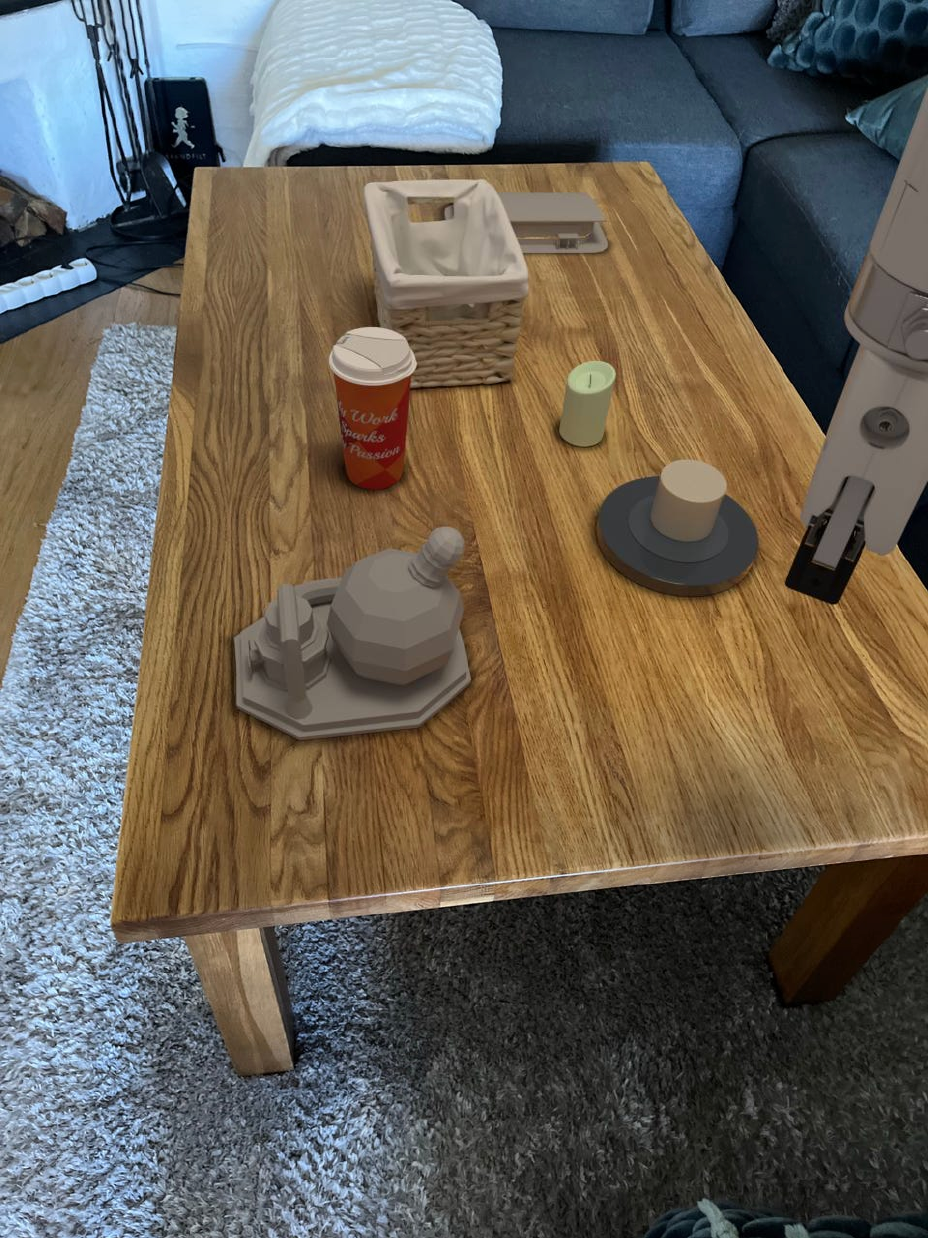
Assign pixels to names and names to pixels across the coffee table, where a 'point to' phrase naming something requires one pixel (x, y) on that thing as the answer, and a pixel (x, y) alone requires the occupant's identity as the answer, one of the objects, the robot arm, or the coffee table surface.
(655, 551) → the plate
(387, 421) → the coffee cup
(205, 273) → the coffee table surface
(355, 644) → the grey faceted model
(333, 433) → the coffee table surface
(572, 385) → the candle
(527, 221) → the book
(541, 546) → the coffee table surface
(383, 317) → the basket
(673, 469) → the short beige cylinder
